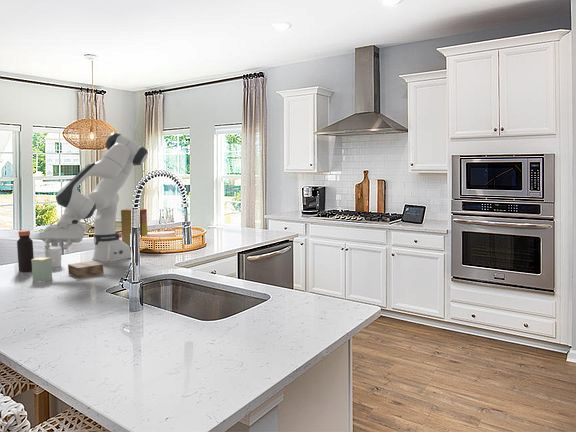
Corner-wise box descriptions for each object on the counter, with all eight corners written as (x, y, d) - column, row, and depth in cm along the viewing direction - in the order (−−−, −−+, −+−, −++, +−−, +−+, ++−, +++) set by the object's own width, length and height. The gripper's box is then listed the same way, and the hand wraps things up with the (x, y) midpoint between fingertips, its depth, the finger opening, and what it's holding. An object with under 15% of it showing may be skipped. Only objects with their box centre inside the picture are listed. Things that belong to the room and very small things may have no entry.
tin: (41, 278, 218) (40, 257, 217) (52, 278, 217) (51, 257, 215) (32, 281, 212) (31, 259, 211) (43, 281, 211) (42, 259, 210)
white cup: (41, 267, 242) (40, 248, 241) (55, 264, 249) (54, 245, 248) (51, 268, 239) (50, 249, 238) (65, 265, 246) (64, 246, 245)
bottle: (27, 272, 230) (25, 231, 228) (15, 272, 231) (12, 231, 229) (37, 269, 237) (35, 230, 235) (25, 269, 238) (23, 229, 236)
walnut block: (93, 270, 235) (93, 260, 234) (103, 274, 226) (103, 264, 226) (68, 274, 227) (68, 264, 226) (77, 278, 218) (77, 268, 218)
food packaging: (148, 247, 300) (147, 208, 297) (142, 250, 290) (141, 210, 288) (128, 247, 301) (126, 208, 298) (121, 250, 292) (120, 210, 289)
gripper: (45, 220, 229) (32, 243, 221) (83, 221, 226) (71, 244, 217) (51, 228, 234) (39, 251, 225) (89, 229, 231) (78, 252, 222)
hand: (55, 248), depth 221 cm, fingers open, 8 cm apart
